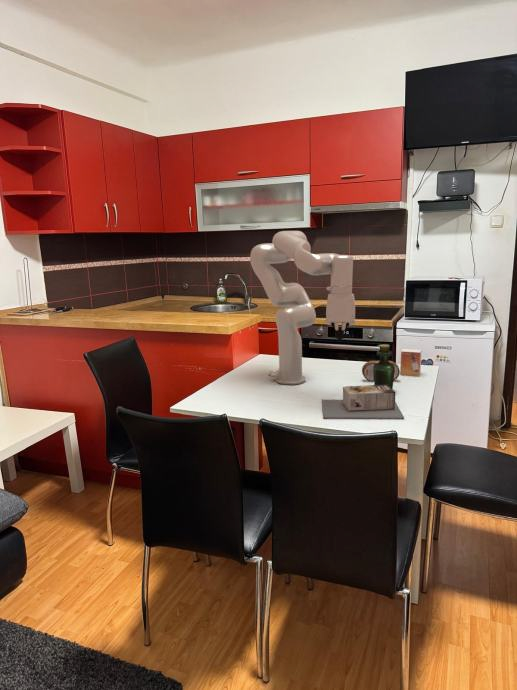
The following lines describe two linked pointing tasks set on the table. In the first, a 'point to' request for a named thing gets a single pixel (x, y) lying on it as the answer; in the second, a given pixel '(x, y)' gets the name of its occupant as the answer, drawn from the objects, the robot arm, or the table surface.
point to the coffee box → (369, 397)
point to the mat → (357, 412)
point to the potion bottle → (384, 367)
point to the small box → (410, 362)
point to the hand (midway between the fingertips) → (339, 340)
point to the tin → (369, 373)
